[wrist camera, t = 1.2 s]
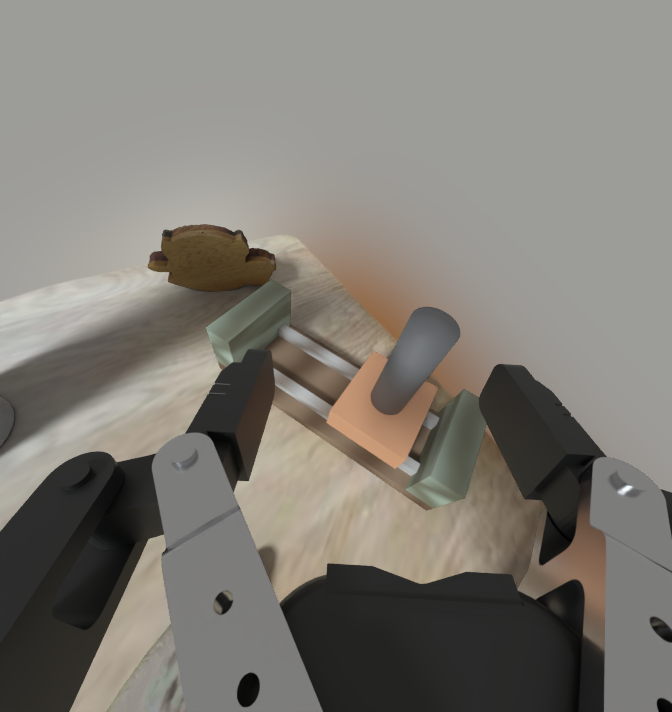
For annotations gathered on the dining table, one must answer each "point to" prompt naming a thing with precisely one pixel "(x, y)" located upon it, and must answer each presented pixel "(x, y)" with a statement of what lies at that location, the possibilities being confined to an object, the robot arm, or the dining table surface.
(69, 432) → the dining table surface
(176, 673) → the decorative stone
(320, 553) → the dining table surface
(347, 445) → the rail bed
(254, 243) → the dining table surface
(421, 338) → the carriage
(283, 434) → the dining table surface
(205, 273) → the wooden carving
